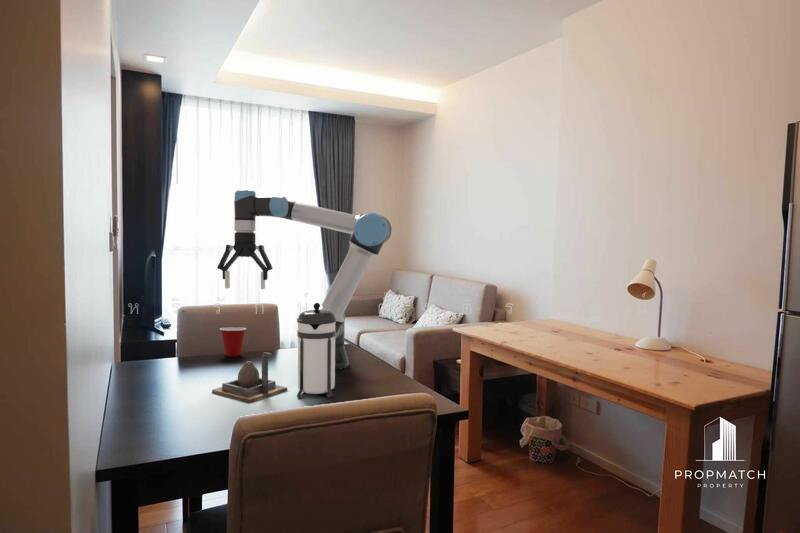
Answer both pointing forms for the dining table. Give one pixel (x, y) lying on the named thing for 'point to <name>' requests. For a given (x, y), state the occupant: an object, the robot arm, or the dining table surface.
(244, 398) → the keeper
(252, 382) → the vase
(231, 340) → the plastic cup
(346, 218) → the robot arm
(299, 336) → the coffee press
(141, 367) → the dining table surface
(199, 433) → the dining table surface
